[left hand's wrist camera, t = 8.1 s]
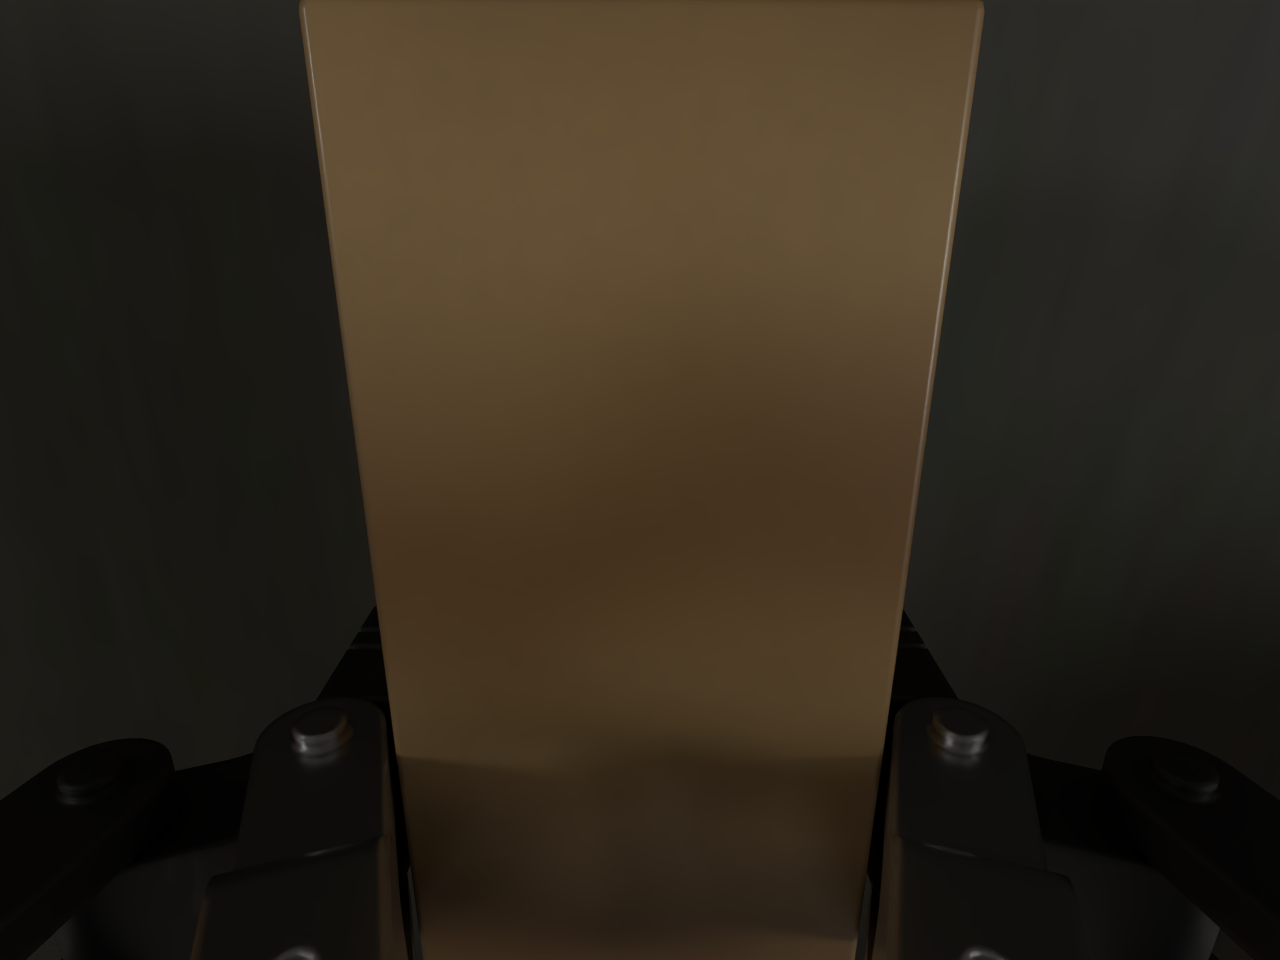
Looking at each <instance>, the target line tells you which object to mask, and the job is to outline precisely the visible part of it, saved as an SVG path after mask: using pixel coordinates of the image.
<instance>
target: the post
mask: <svg viewBox="0 0 1280 960" xmlns="http://www.w3.org/2000/svg"><path fill="white" fill-rule="evenodd" d="M299 15H300V23H301V31H302V38H303V46H304V54H305V61H306V69H307V77H308V84H309V92H310V100H311V107H312V115H313V123H314V130H315V138H316V145H317V153H318V161H319V168H320V176H321V184H322V191H323V199H324V207H325V214H326V222H327V230H328V237H329V245H330V253H331V260H332V268H333V275H334V283H335V291H336V298H337V306H338V314H339V321H340V329H341V337H342V344H343V352H344V360H345V367H346V375H347V383H348V390H349V398H350V406H351V413H352V421H353V428H354V436H355V444H356V451H357V459H358V467H359V474H360V482H361V490H362V497H363V505H364V513H365V520H366V528H367V536H368V543H369V551H370V558H371V566H372V574H373V581H374V589H375V597H376V604H377V612H378V620H379V627H380V635H381V643H382V650H383V658H384V666H385V673H386V681H387V688H388V696H389V704H390V711H391V719H392V727H393V734H394V742H395V750H396V757H397V765H398V773H399V780H400V788H401V796H402V803H403V811H404V818H405V826H406V834H407V841H408V849H409V857H410V864H411V872H412V880H413V887H414V895H415V903H416V910H417V918H418V926H419V933H420V941H421V949H422V956H423V960H855V954H856V947H857V940H858V932H859V925H860V918H861V910H862V903H863V896H864V889H865V881H866V874H867V867H868V859H869V852H870V845H871V837H872V830H873V823H874V816H875V808H876V801H877V794H878V786H879V779H880V772H881V764H882V757H883V750H884V743H885V735H886V728H887V721H888V713H889V706H890V699H891V691H892V684H893V677H894V669H895V662H896V655H897V648H898V640H899V633H900V626H901V618H902V611H903V604H904V596H905V589H906V582H907V575H908V567H909V560H910V553H911V545H912V538H913V531H914V523H915V516H916V509H917V502H918V494H919V487H920V480H921V472H922V465H923V458H924V450H925V443H926V436H927V428H928V421H929V414H930V407H931V399H932V392H933V385H934V377H935V370H936V363H937V355H938V348H939V341H940V334H941V326H942V319H943V312H944V304H945V297H946V290H947V282H948V275H949V268H950V261H951V253H952V246H953V239H954V231H955V224H956V217H957V209H958V202H959V195H960V188H961V180H962V173H963V166H964V158H965V151H966V144H967V136H968V129H969V122H970V114H971V107H972V100H973V93H974V85H975V78H976V71H977V63H978V56H979V49H980V41H981V34H982V27H983V20H984V5H983V2H982V1H980V0H300V6H299Z"/></svg>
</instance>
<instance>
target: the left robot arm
mask: <svg viewBox="0 0 1280 960" xmlns="http://www.w3.org/2000/svg"><path fill="white" fill-rule="evenodd" d="M350 646H351V647H350V649H348V650H347V651H346V653H345V655H344V656H343V658H342V659H341V661H340V663H339V664H338V666H337V667H336V669H335V671H334V672H333V674H332V675H331V677H330V679H329V680H328V682H327V683H326V685H325V687H324V688H323V690H322V691H321V693H320V695H319V696H318V698H317V699H316V701H313V702H310V703H307V704H304V705H301V706H299V707H296V708H294V709H292V710H290V711H288V712H286V713H285V714H283V715H281V716H280V717H278V718H277V719H276V720H274V721H273V722H272V723H271V724H270V725H268V726H267V727H266V728H265V730H264V731H263V732H262V733H261V734H260V736H259V738H258V740H257V741H256V744H255V748H254V752H253V753H250V754H247V755H244V756H241V757H238V758H234V759H230V760H226V761H221V762H216V763H212V764H207V765H202V766H198V767H193V768H188V769H184V770H179V771H175V769H174V765H173V761H172V757H171V754H170V752H169V750H168V749H167V748H166V747H165V746H164V745H162V744H161V743H159V742H156V741H153V740H149V739H142V738H129V739H119V740H113V741H108V742H104V743H100V744H97V745H93V746H90V747H88V748H85V749H82V750H79V751H77V752H75V753H73V754H70V755H68V756H66V757H64V758H62V759H61V760H59V761H57V762H55V763H53V764H52V765H50V766H49V767H47V768H46V769H44V770H43V771H41V772H40V773H38V774H37V775H36V776H34V777H33V778H31V779H30V780H29V781H27V782H26V783H24V784H23V785H22V786H20V787H19V788H17V789H16V790H15V791H13V792H12V793H10V794H9V795H8V796H6V797H5V798H3V799H2V800H1V801H0V960H26V959H27V958H28V957H29V956H30V955H31V954H32V953H33V952H35V951H36V950H37V949H38V948H39V947H40V946H41V945H42V944H43V943H44V942H45V941H46V940H48V939H49V938H50V937H51V936H52V935H53V934H54V936H55V939H56V942H57V944H58V947H59V950H60V953H61V955H62V959H61V960H416V959H415V946H414V933H413V920H412V906H411V897H410V890H409V883H408V875H407V872H408V869H409V866H410V857H409V849H408V841H407V834H406V826H405V818H404V811H403V803H402V796H401V788H400V780H399V773H398V765H397V757H396V750H395V742H394V734H393V727H392V719H391V711H390V704H389V696H388V688H387V681H386V673H385V666H384V658H383V650H382V643H381V635H380V627H379V620H378V612H377V606H376V607H374V608H373V610H372V611H371V613H370V615H369V616H368V618H367V619H366V621H365V623H364V624H363V626H362V627H361V632H358V634H357V635H356V637H355V639H354V640H353V642H352V643H351V645H350ZM867 873H868V876H869V879H870V882H871V890H870V897H869V906H868V920H867V933H866V946H865V959H864V960H1219V959H1218V958H1217V957H1216V956H1215V955H1214V954H1213V953H1212V949H1213V946H1214V943H1215V941H1216V938H1217V935H1218V932H1219V930H1220V928H1221V929H1222V930H1223V931H1224V932H1225V933H1226V934H1227V935H1228V936H1229V937H1230V938H1231V939H1232V940H1234V941H1235V942H1236V943H1237V944H1238V945H1239V946H1240V947H1241V948H1242V949H1243V950H1244V951H1245V952H1246V953H1248V954H1249V955H1250V956H1251V957H1252V958H1253V959H1254V960H1280V801H1279V800H1278V799H1277V798H1275V797H1274V796H1272V795H1271V794H1270V793H1268V792H1267V791H1265V790H1264V789H1263V788H1261V787H1260V786H1258V785H1257V784H1256V783H1254V782H1253V781H1251V780H1250V779H1249V778H1247V777H1246V776H1244V775H1243V774H1242V773H1240V772H1239V771H1237V770H1236V769H1235V768H1233V767H1232V766H1230V765H1229V764H1227V763H1225V762H1224V761H1222V760H1221V759H1219V758H1217V757H1215V756H1213V755H1211V754H1209V753H1207V752H1205V751H1203V750H1200V749H1198V748H1196V747H1193V746H1190V745H1187V744H1184V743H1181V742H1177V741H1174V740H1170V739H1165V738H1159V737H1150V736H1134V737H1127V738H1124V739H1120V740H1118V741H1116V742H1114V743H1113V744H1112V745H1111V746H1110V747H1109V748H1108V750H1107V753H1106V755H1105V759H1104V763H1103V767H1102V771H1100V770H1096V769H1091V768H1086V767H1082V766H1077V765H1072V764H1068V763H1063V762H1058V761H1054V760H1049V759H1045V758H1041V757H1037V756H1033V755H1030V754H1027V753H1026V748H1025V744H1024V741H1023V740H1022V738H1021V736H1020V734H1019V733H1018V732H1017V731H1016V730H1015V728H1014V727H1013V726H1012V725H1010V724H1009V723H1008V722H1007V721H1006V720H1004V719H1003V718H1002V717H1000V716H999V715H997V714H995V713H994V712H992V711H990V710H988V709H986V708H984V707H981V706H979V705H976V704H973V703H970V702H967V701H963V700H959V699H958V698H957V696H956V694H955V693H954V691H953V690H952V688H951V686H950V685H949V683H948V681H947V680H946V678H945V677H944V675H943V673H942V672H941V670H940V668H939V667H938V665H937V664H936V662H935V660H934V659H933V657H932V655H931V654H930V652H929V651H928V649H925V644H924V642H923V641H922V639H921V637H920V636H919V634H918V633H917V631H914V626H913V624H912V623H911V621H910V620H909V618H908V616H907V615H906V613H905V611H904V610H903V611H902V618H901V626H900V633H899V640H898V648H897V655H896V662H895V669H894V677H893V684H892V691H891V699H890V706H889V713H888V721H887V728H886V735H885V743H884V750H883V757H882V764H881V772H880V779H879V786H878V794H877V801H876V808H875V816H874V823H873V830H872V837H871V845H870V852H869V859H868V867H867Z"/></svg>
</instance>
